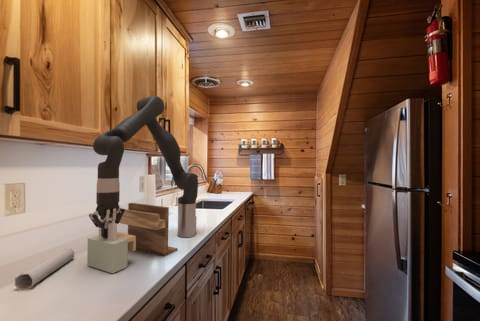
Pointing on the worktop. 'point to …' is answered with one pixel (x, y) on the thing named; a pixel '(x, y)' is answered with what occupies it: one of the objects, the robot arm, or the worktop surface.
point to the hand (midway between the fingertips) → (107, 237)
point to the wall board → (148, 227)
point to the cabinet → (110, 250)
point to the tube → (43, 269)
